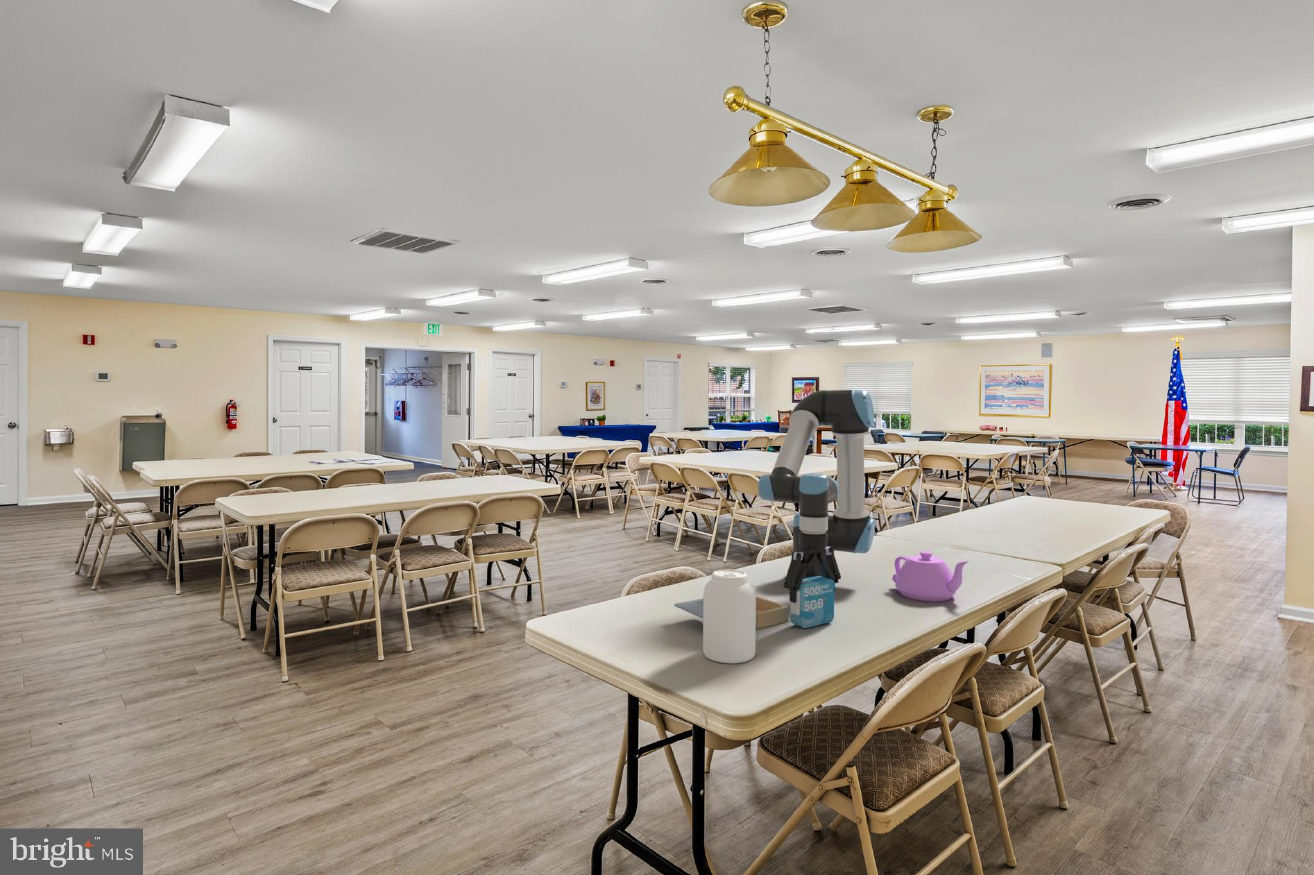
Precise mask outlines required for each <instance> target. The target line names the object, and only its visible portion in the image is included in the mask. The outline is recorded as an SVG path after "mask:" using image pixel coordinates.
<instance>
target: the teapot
mask: <svg viewBox="0 0 1314 875" xmlns="http://www.w3.org/2000/svg"><path fill="white" fill-rule="evenodd" d="M919 554H920V555H911V556H906V555H899V556H897V557H896V558H895V560H894V570H895V573H894V574H893V575H892V581H893V583H895V584H894V586H895V588H896V590H897V591H898V592H899V594H900V595H901V596H902V597H905V598H907V599H910V600H915V601H919V602H928V603H932V602H934V603H937V602H938V603H939V602H946V601H949V600H950V599H951V598H953V597H954V596H955V594H956V592H957V590H958V589H960V588H961V586H962V583H963V569H964V566H965V565H966V564H967V563H969V561H968V560H967V561H960V562H958V563H956V565H955V567H954V572H953V573H952V570H951V568H949V565H948V564H947V563H946V562H945V560H944V559H943V558H940V557H935V556H933V552H931V551H926V550H925V551H923V550H922V551H919ZM901 560H904V562H903V564H902V565H900V564H901Z"/></svg>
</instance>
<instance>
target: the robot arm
mask: <svg viewBox="0 0 1314 875" xmlns="http://www.w3.org/2000/svg"><path fill="white" fill-rule="evenodd" d="M788 422H789V427H788V429H787V433H786V434H785V437H784V440H783V442H782V445H781V447H780V450H779V453H778V456H777V457H776V461H775V463H774V466H773V468H772V471H771V473H770V474H768V473H767V474H763V475H761V476H760V478H759V480H758V487H757V489H758V490H757V491H758V495H759V497H760V499H761V500H765V501H771V502H781V503H782V502H784V503H797V504H798V503H799V512H797V513H795V515H794V516H793V525H792V552H791V560H790V563H789V567H788V569H787V573H786V576H785V578H784V579H785V580H784V582H783V588H785V589H786V590H787V589H788V590H789V600H788V601H789V602H790V614H791V613H793V614H795V615H800V591H799V590H798V588H799V586H800V584H801V582H802V581H803V579H806V578H811V577H816V576H822V577H825V578H828V579H832V580H833V581H834V594H835V593H836V584H838V583H839V582H840V581H839V580H841V578H842V576H841V572H840V569H839V566H838V563H837V560H836V556H835V551H836V552H843V553H853V554H866V553H868V552H870V550H871V548H872V544H873V540H874V536H875V528H876V521H875V520H876V519H874V518H872V517H870V511H869V510H868V509H867V508H866V507H865V505H866V504H865V499H866V498H865V436H866V435H867V434H868V433H869V431H870V429H869V428H871V427H873V426H874V424H875V409H874V403H873V400H872V396H871V395H870V393H869V392H868V391H866V390H864V389H863V390H862V389H836V390H835V389H833V390H829V389H827V390H826V389H820V390H817V391H813V392H812V393H809V394H808V395H806V396H804V397H803V398H802V399H801V400H800V401H799V402H798V403H797V404H796V405H795V406H794V407H793V409H792V411H791V413H790V415H789V420H788ZM824 426H825V427H830V428H831V433H832V434H833V435H834V437H836V438H835V440H836V480H835V479H834V478H833V477H831V476H827V475H826V474H823V473H812V472H811V473H804V474H803V473H802V475H800V476H798V475H799V473H800V470H801V468H802V465H803V461H804V459H805V456H806V453H807V450H808V449H809V448H808V447H809V445H810V442H811V439H812V436H813V434H814V433H816V432H817V430H818V429H819V427H824ZM836 498H837V507H836V508H835V509H834V510H833V513H832V515H830V514H829V508H828V507H829V504H831V503H832V502H834V501H835V500H836ZM794 585H795V586H794Z"/></svg>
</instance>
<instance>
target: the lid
mask: <svg viewBox="0 0 1314 875" xmlns="http://www.w3.org/2000/svg"><path fill="white" fill-rule="evenodd" d="M673 606H674V607H676V608H678V609H681V610H682V611H684V612H687V613H689V614H692V615H694V616H696V617H698V618H700V619H702V620H703V598H698V599H692V600H687V601H683V602H678V603H677V602H676V603H674V605H673Z"/></svg>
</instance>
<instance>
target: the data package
mask: <svg viewBox="0 0 1314 875" xmlns="http://www.w3.org/2000/svg"><path fill="white" fill-rule="evenodd" d="M794 586H795V585H794ZM798 590H799V591H800V615H795V614H793V613H791V612H790V622H791V624H793V625H796V626H798V627H800V628H801V629H802V628H803V629H808V628H813V627H817V626H821V625H824V624H829V623H831V622H833V620H834V618H835V593H834V581H833V580H832V579H828V578H825V577H822V576H816V577H811V578H806V579H803V581H802V582H801V584H800V586H799V588H798Z"/></svg>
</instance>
